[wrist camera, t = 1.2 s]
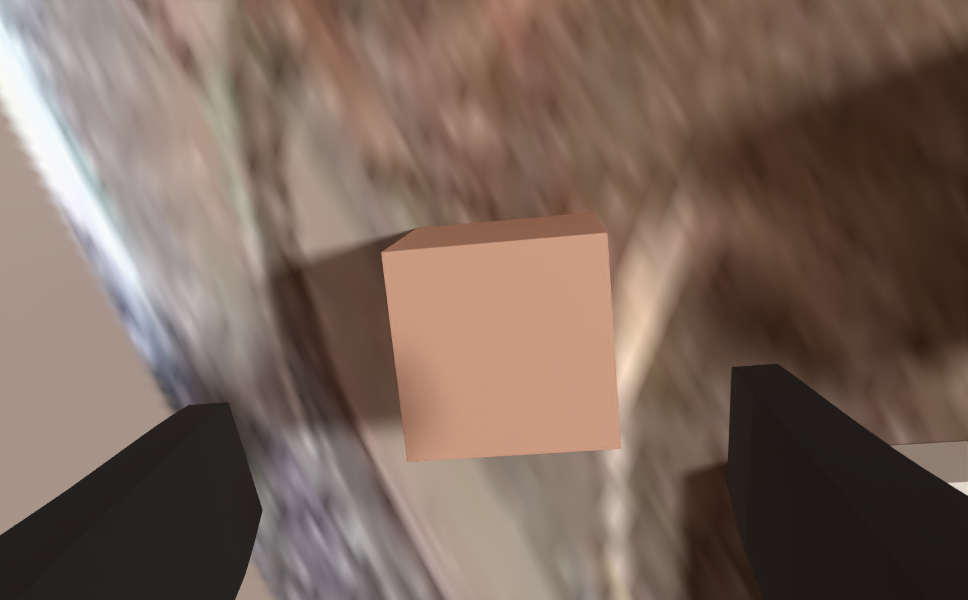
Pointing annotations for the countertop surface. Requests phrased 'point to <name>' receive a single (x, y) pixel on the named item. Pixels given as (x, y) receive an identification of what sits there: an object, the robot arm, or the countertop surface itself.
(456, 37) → the countertop surface
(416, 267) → the terracotta cube
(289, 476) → the countertop surface
